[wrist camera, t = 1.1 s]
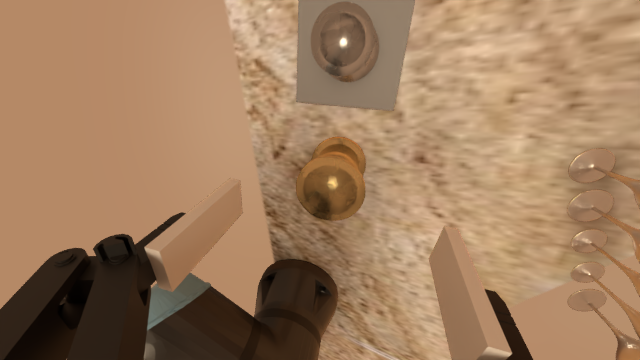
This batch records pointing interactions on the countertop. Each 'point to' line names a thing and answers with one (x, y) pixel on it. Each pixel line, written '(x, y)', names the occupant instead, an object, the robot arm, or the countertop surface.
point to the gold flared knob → (333, 180)
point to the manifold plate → (383, 80)
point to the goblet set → (602, 243)
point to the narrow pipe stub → (345, 41)
